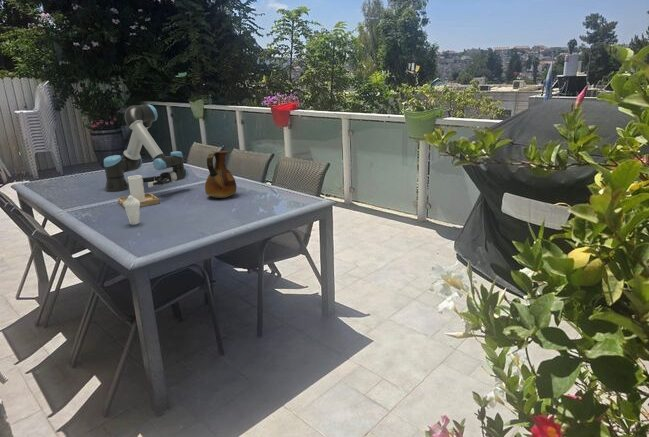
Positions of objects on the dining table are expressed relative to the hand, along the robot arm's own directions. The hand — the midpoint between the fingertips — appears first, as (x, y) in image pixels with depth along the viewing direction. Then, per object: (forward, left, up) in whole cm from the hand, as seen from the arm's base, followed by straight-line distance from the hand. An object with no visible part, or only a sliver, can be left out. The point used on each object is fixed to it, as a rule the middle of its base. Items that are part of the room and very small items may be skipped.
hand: (141, 184), depth 285 cm
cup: (+1, -3, -11) cm, 11 cm away
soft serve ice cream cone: (+43, -16, -12) cm, 48 cm away
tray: (+1, -3, -12) cm, 12 cm away
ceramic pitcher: (+21, +44, -12) cm, 50 cm away
